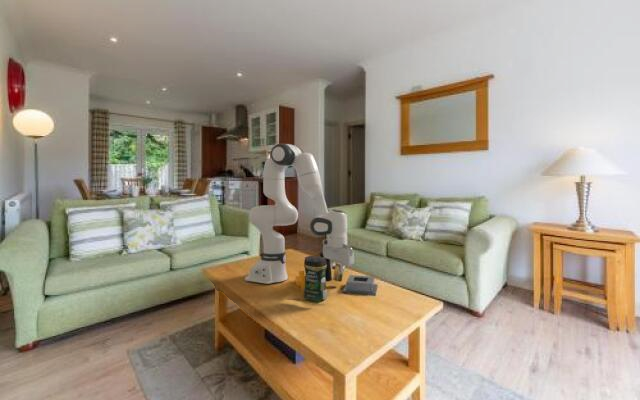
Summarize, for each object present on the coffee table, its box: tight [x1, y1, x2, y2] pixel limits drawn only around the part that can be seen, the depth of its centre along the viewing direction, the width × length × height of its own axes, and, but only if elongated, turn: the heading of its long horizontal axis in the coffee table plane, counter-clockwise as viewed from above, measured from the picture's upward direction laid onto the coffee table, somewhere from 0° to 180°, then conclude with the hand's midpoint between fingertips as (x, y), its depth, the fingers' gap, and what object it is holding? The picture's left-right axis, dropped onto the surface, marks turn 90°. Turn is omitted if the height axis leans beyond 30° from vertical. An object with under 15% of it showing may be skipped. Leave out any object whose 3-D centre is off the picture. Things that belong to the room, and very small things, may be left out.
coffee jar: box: [303, 255, 328, 303], centre depth 124 cm, size 10×8×19 cm
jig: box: [342, 274, 378, 296], centre depth 136 cm, size 15×14×5 cm
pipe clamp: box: [294, 269, 305, 290], centre depth 142 cm, size 12×4×6 cm, turn 13°
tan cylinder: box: [332, 262, 344, 282], centre depth 141 cm, size 4×4×8 cm
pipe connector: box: [319, 251, 333, 282], centre depth 148 cm, size 12×5×15 cm, turn 120°
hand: (337, 270), depth 140 cm, fingers closed on tan cylinder, 4 cm apart
